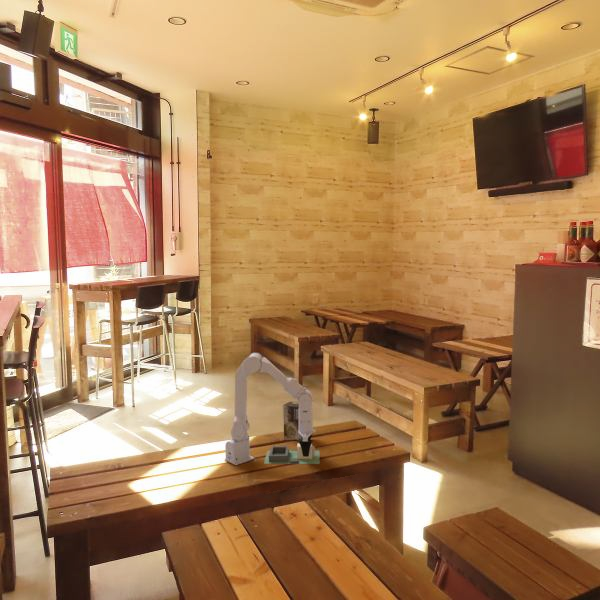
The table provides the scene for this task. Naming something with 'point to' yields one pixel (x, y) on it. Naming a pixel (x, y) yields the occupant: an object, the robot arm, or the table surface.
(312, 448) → the plug
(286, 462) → the board
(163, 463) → the table surface
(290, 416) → the coffee box
